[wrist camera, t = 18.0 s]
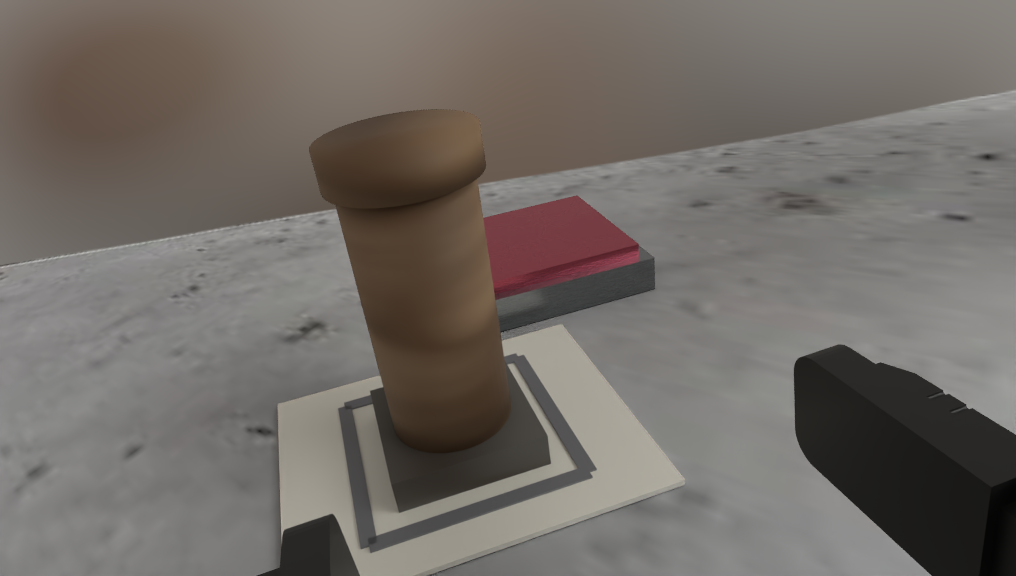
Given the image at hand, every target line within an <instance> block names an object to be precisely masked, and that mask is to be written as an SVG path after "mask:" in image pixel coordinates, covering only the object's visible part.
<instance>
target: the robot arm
mask: <svg viewBox="0 0 1016 576" xmlns="http://www.w3.org/2000/svg"><path fill="white" fill-rule="evenodd" d="M794 394H795V431H796V437H797V440H798V443H799V445H800V448H801V450H802V452H803V453H804V455H805V457H806V458H807V460H808V461H809V462H810V463H811V464H812V465H813V466H814V467H815V468H816V469H817V470H818V471H819V472H820V473H821V474H822V475H823V476H824V477H826V478H827V479H828V480H829V481H830V482H831V483H832V484H833V485H834V486H835V487H836V488H837V489H839V490H840V491H841V492H842V493H843V494H844V495H845V496H846V497H847V498H848V499H849V500H850V501H852V502H853V503H854V504H855V505H856V506H857V507H858V508H859V509H860V510H861V511H862V512H863V513H865V514H866V515H867V516H868V517H869V518H870V519H871V520H872V521H873V522H874V523H875V524H876V525H878V526H879V527H880V528H881V529H882V530H883V531H884V532H885V533H886V534H887V535H888V536H889V537H890V538H892V539H893V540H894V541H895V542H896V543H897V544H898V545H899V546H900V547H901V548H902V549H903V550H905V551H906V552H907V553H908V554H909V555H910V556H911V557H912V558H913V559H914V560H915V561H916V562H918V563H919V564H920V565H921V566H922V567H923V568H924V569H925V570H926V571H927V572H928V573H929V574H931V575H932V576H1016V435H1015V434H1014V433H1012V432H1010V431H1009V430H1007V429H1005V428H1004V427H1002V426H1000V425H999V424H997V423H995V422H994V421H992V420H991V419H989V418H987V417H986V416H984V415H982V414H981V413H979V412H977V411H976V410H974V409H973V408H972V409H968V408H967V406H966V404H964V403H963V402H961V401H959V400H958V399H956V398H955V397H953V396H951V395H950V394H947V395H945V394H944V393H943V390H941V389H940V388H938V387H936V386H935V385H933V384H932V383H930V382H928V381H927V380H925V379H923V378H922V377H920V376H918V375H917V374H915V373H912V372H909V371H906V370H903V369H900V368H896V367H893V366H890V365H887V364H884V363H881V362H880V363H877V364H874V363H873V362H871V361H870V360H868V359H867V358H865V357H863V356H862V355H860V354H859V353H857V352H856V351H854V350H852V349H851V348H849V347H847V346H845V345H836V346H833V347H830V348H827V349H824V350H821V351H818V352H815V353H812V354H809V355H806V356H803V357H800V358H799V359H798V360H797V361H796V363H795V366H794ZM257 576H360V574H359V572H358V569H357V567H356V565H355V562H354V560H353V557H352V555H351V552H350V550H349V547H348V545H347V543H346V540H345V538H344V535H343V533H342V530H341V528H340V526H339V523H338V521H337V519H336V517H335V516H334V515H333V514H329V515H326V516H323V517H320V518H317V519H314V520H311V521H308V522H305V523H302V524H299V525H296V526H293V527H290V528H287V529H285V530H284V532H283V535H282V547H281V562H280V568H278V569H275V570H272V571H269V572H266V573H263V574H260V575H257Z"/></svg>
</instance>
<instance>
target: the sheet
mask: <svg viewBox="0 0 1016 576" xmlns="http://www.w3.org/2000/svg"><path fill="white" fill-rule="evenodd" d="M502 346H503V353H504V360H505V362H506V363H507V365H508V367H509V369H510V370H511V372H512V374H513V376H514V377H515V379H516V381H517V383H518V384H519V386H520V388H521V390H522V391H523V393H524V395H525V397H526V398H527V400H528V402H529V404H530V405H531V407H532V409H533V411H534V412H535V414H536V416H537V418H538V419H539V421H540V423H541V425H542V426H543V428H544V430H545V432H546V434H547V435H548V443H549V451H550V459H551V464H549V465H546V466H543V467H540V468H537V469H533V470H530V471H527V472H524V473H521V474H518V475H515V476H512V477H509V478H506V479H503V480H499V481H496V482H493V483H490V484H487V485H484V486H481V487H478V488H475V489H472V490H469V491H466V492H462V493H459V494H456V495H453V496H450V497H447V498H444V499H441V500H438V501H435V502H432V503H429V504H425V505H422V506H419V507H416V508H413V509H410V510H407V511H404V512H401V513H399V511H398V507H397V504H396V500H395V497H394V493H393V489H392V486H391V482H390V477H389V473H388V469H387V464H386V460H385V455H384V451H383V446H382V442H381V438H380V433H379V429H378V424H377V420H376V416H375V411H374V407H373V402H372V398H371V393H370V391H371V390H375V389H378V388H382V387H383V384H382V380H381V376H380V375H379V376H375V377H372V378H368V379H365V380H361V381H358V382H354V383H351V384H347V385H344V386H340V387H336V388H333V389H329V390H326V391H322V392H319V393H315V394H312V395H308V396H305V397H301V398H298V399H294V400H290V401H287V402H283V403H280V404H278V437H279V472H280V507H281V541H282V535H283V532H284V530H285V529H287V528H290V527H293V526H296V525H299V524H302V523H305V522H308V521H311V520H314V519H317V518H320V517H323V516H326V515H329V514H333V515H334V516H335V517H336V519H337V521H338V523H339V526H340V528H341V530H342V533H343V535H344V538H345V540H346V543H347V545H348V547H349V550H350V552H351V555H352V557H353V560H354V562H355V565H356V567H357V569H358V572H359V574H360V576H428V575H430V574H433V573H436V572H439V571H442V570H445V569H447V568H450V567H453V566H456V565H459V564H462V563H464V562H467V561H470V560H473V559H476V558H479V557H481V556H484V555H487V554H490V553H493V552H496V551H498V550H501V549H504V548H507V547H510V546H513V545H515V544H518V543H521V542H524V541H527V540H530V539H532V538H535V537H538V536H541V535H544V534H547V533H549V532H552V531H555V530H558V529H561V528H564V527H566V526H569V525H572V524H575V523H578V522H581V521H583V520H586V519H589V518H592V517H595V516H598V515H600V514H603V513H606V512H609V511H612V510H615V509H617V508H620V507H623V506H626V505H629V504H632V503H634V502H637V501H640V500H643V499H646V498H649V497H651V496H654V495H657V494H660V493H663V492H666V491H669V490H671V489H674V488H677V487H680V486H683V485H685V479H684V478H683V476H682V475H681V474H680V473H679V471H678V470H677V469H676V467H675V466H674V465H673V464H672V462H671V461H670V460H669V459H668V457H667V456H666V455H665V454H664V452H663V451H662V450H661V449H660V447H659V446H658V445H657V443H656V442H655V441H654V440H653V438H652V437H651V436H650V435H649V433H648V432H647V431H646V430H645V428H644V427H643V426H642V425H641V423H640V422H639V421H638V419H637V418H636V417H635V416H634V414H633V413H632V412H631V411H630V409H629V408H628V407H627V406H626V404H625V403H624V402H623V401H622V399H621V398H620V397H619V395H618V394H617V393H616V392H615V390H614V389H613V388H612V387H611V385H610V384H609V383H608V382H607V380H606V379H605V378H604V377H603V375H602V374H601V373H600V371H599V370H598V369H597V368H596V366H595V365H594V364H593V363H592V361H591V360H590V359H589V358H588V356H587V355H586V354H585V353H584V351H583V350H582V349H581V347H580V346H579V345H578V344H577V342H576V341H575V340H574V339H573V337H572V336H571V335H570V334H569V332H568V331H567V330H566V329H565V327H564V326H563V325H562V324H559V325H556V326H552V327H549V328H545V329H542V330H538V331H535V332H531V333H528V334H524V335H521V336H517V337H513V338H510V339H506V340H503V341H502Z"/></svg>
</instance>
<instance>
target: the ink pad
mask: <svg viewBox="0 0 1016 576" xmlns="http://www.w3.org/2000/svg"><path fill="white" fill-rule="evenodd" d="M483 221H484V227H485V234H486V241H487V247H488V254H489V260H490V267H491V274H492V280H493V287H494V294H495V300H496V307H497V313H498V320H499V327H500V332H502V331H505V330H509V329H512V328H516V327H520V326H523V325H527V324H530V323H534V322H537V321H541V320H545V319H548V318H552V317H555V316H559V315H563V314H566V313H570V312H573V311H577V310H580V309H584V308H588V307H591V306H595V305H598V304H602V303H605V302H609V301H613V300H616V299H620V298H623V297H627V296H631V295H634V294H638V293H641V292H645V291H648V290H652V289H655V271H654V257H653V256H651V255H650V254H649V253H648V252H646V251H645V250H644V249H643V248H641V247H640V246H639V244H638V243H636V242H635V241H634V240H633V239H631V238H630V237H629V236H628V235H626V234H625V233H624V232H623V231H621V230H620V229H619V228H617V227H616V226H615V225H614V224H612V223H611V222H610V221H609V220H607V219H606V218H605V217H604V216H602V215H601V214H600V213H599V212H597V211H596V210H595V209H593V208H592V207H591V206H590V205H588V204H587V203H586V202H585V201H583V200H582V199H581V198H580V197H578V196H573V197H569V198H565V199H560V200H556V201H552V202H548V203H544V204H540V205H535V206H531V207H527V208H523V209H519V210H515V211H510V212H506V213H502V214H498V215H494V216H490V217H485V218H483Z"/></svg>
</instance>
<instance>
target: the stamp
mask: <svg viewBox="0 0 1016 576" xmlns="http://www.w3.org/2000/svg"><path fill="white" fill-rule="evenodd" d="M309 152H310V156H311V160H312V163H313V167H314V171H315V174H316V178H317V181H318V185H319V189H320V193H321V195H322V197H323V198H324V199H325V200H326V201H328V202H330V203H332V204H334V205H336V209H337V213H338V216H339V220H340V224H341V228H342V232H343V235H344V239H345V243H346V247H347V251H348V254H349V258H350V262H351V266H352V270H353V273H354V277H355V281H356V285H357V289H358V292H359V296H360V300H361V304H362V308H363V311H364V315H365V319H366V323H367V327H368V330H369V334H370V338H371V342H372V346H373V349H374V353H375V357H376V361H377V365H378V368H379V372H380V376H381V380H382V384H383V387H382V388H378V389H375V390H371V391H370V393H371V398H372V402H373V407H374V411H375V416H376V420H377V424H378V429H379V433H380V438H381V442H382V446H383V451H384V455H385V460H386V464H387V469H388V473H389V477H390V482H391V486H392V489H393V493H394V497H395V500H396V504H397V507H398V511H399V513H401V512H404V511H407V510H410V509H413V508H416V507H419V506H422V505H425V504H429V503H432V502H435V501H438V500H441V499H444V498H447V497H450V496H453V495H456V494H459V493H462V492H466V491H469V490H472V489H475V488H478V487H481V486H484V485H487V484H490V483H493V482H496V481H499V480H503V479H506V478H509V477H512V476H515V475H518V474H521V473H524V472H527V471H530V470H533V469H537V468H540V467H543V466H546V465H549V464H551V459H550V451H549V443H548V435H547V434H546V432H545V430H544V428H543V426H542V425H541V423H540V421H539V419H538V418H537V416H536V414H535V412H534V411H533V409H532V407H531V405H530V404H529V402H528V400H527V398H526V397H525V395H524V393H523V391H522V390H521V388H520V386H519V384H518V383H517V381H516V379H515V377H514V376H513V374H512V372H511V370H510V369H509V367H508V365H507V363H506V362H505V360H504V353H503V346H502V340H501V333H500V327H499V320H498V313H497V307H496V300H495V294H494V287H493V280H492V274H491V267H490V260H489V254H488V247H487V241H486V234H485V227H484V221H483V214H482V207H481V201H480V194H479V188H478V181H477V178H478V177H480V176H481V174H482V173H483V172H484V170H485V168H486V161H485V155H484V148H483V141H482V134H481V127H480V121H479V119H478V117H477V116H475V115H473V114H471V113H468V112H464V111H457V110H444V109H443V110H442V109H440V110H439V109H434V110H433V109H432V110H417V111H407V112H399V113H393V114H387V115H382V116H377V117H373V118H369V119H365V120H361V121H357V122H354V123H351V124H348V125H345V126H342V127H339V128H337V129H334V130H332V131H330V132H328V133H326V134H324V135H322V136H321V137H319V138H318V139H316V140H315V141H314V142H313V143H312V144H311V146H310V147H309Z"/></svg>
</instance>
